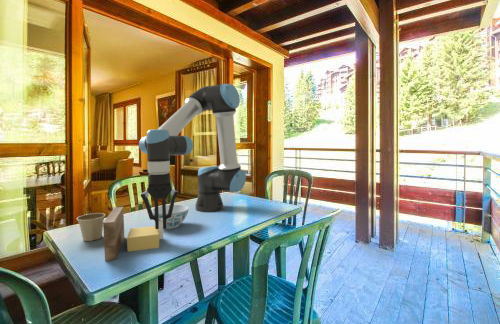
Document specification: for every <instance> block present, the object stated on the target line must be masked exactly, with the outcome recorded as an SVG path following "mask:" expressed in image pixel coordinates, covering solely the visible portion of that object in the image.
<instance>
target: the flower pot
mask: <svg viewBox="0 0 500 324" xmlns="http://www.w3.org/2000/svg"><path fill="white" fill-rule="evenodd" d="M105 217H106V214H105V213H102V212H94V213H86V214H83V215H80V216H78V217H76V220H77V222H78V224H79V227H80V231H81V236H82V240H83V241H84V242H93V241H94V240H97V241H98V240H99V239H101V238H102V237H103V231H104V230H103V222H104V221H105Z"/></svg>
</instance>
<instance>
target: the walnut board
mask: <svg viewBox="0 0 500 324" xmlns="http://www.w3.org/2000/svg"><path fill="white" fill-rule="evenodd" d="M102 231H103V247H104V262H105V261H106V262H108V261H113V260H114V261H115V260H117V258H118V256H119V255H118V254H119V252H120V250H121V247H122V244H123V243H124V240H125V216H124V206H117V207H114V208H113V209H112V210H111V211H110V213H109V214H108V215H107V217H106V218H105V219H104V220H103V230H102Z"/></svg>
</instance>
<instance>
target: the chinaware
mask: <svg viewBox="0 0 500 324" xmlns="http://www.w3.org/2000/svg"><path fill="white" fill-rule="evenodd" d="M169 206H170V204H166V214H168V211H169ZM151 210H152V213H153V215H154V216H155V207H154V208H153V209H151ZM158 213H159V219H163V214H162V205H161V206H158ZM188 213H189V206H187V205H183V204H174V207H173V211H172V215H171V218H168V219H167V220H166V228H165V229H166V230H171V229H172V230H173V229H176V228H179V227H180V225H181V224H182V223H183V222H184V221H185V219H186V217H187V216H188Z"/></svg>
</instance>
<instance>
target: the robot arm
mask: <svg viewBox="0 0 500 324" xmlns="http://www.w3.org/2000/svg"><path fill="white" fill-rule="evenodd" d="M240 98H241V97H240V93H239V92H238V89H237V88H236V87H235V85H233V84H231V83H221V84H214V85H206V86H202V87H200V88H199V89H197V90H195V91H194V92H193V93H192V94H190V95H189V96H188V97H186V99H185V100H184V104H183V105H182V106H181V107H180V108H179V109H178V110H177V111H175V112H174V113H173V114H172V115H171V116H170V117H169V118H168V119H167V120H166V121H164V123H162V125H160V126H159V127H158V128H157V129H148V131H147V132H146V136H143V137H141V138H140V140H139V141H138V147H139V150H140V151H141V153H143V154H145V155H146V157H147V163H146V164H147V173H148V175H147V189H146V191H143V192H140V193H141V194H140V197H141V198H142V200H143V202H144V204H145V205H144V206H145V208H146V212H147V215H148V218H149V220H153V221H154V224H155V225H154V226H155V228H156V229H159V240H161V239H164V229H165V228H166V220H167V219H168V218H171V215H172V211H173V207H174V205H175V201H176V198H177V196H178V195H179V192H178V190H175V189H173V187H172V185H171V173H170V172H171V162H170V161H171V159H170V158H171V157H170V156H185V155H189V154H190V153H191V152H192V151H193V148H194V144H193V140H192V139H191V137H189V136H187V135H179V134H180V133H181V132H182V131H183V129H184V128H185V127H186V126H187V125H189V123H191V121H192V120H193V119H195V117H196V116H199V115H201V114H202V113H203V112H205V111H211V112H212V115H213V116H215V121H216V129H217V130H216V131H217V141H218V148H219V149H218V152H219V160H220V162H219V163H220V164H219V165H214V166H206V167H200V168H199V169H198V171H197V184H198V185H197V186H198V188H197V191H198V194H197V195H198V196H197V199H196V202H195V211H198V212H205V213H207V212H208V213H210V212H211V213H212V212H218V211H221V210H223V209H224V202H223V199H222V196H221V192H230V193H239V192H241V191H242V189H243V188H244V187H245V184H246V182H247V181H246V179H247V173H246V172H245V170H243V169H241V164H240V163H239V162H238V157H237V143H236V132H235V130H236V129H235V121H234V115H235V114H236V112H237V108H239V106H240V102H241V99H240ZM170 193H171V194H170ZM149 195H150V197H152V198H153V201H154V208H155V216H154V215H153V212H152V210H153V209H152V207H151V202H150V200H149ZM169 195H171V198H170V202H169V205H170V206H169V211H168V214H166V205H167V204H166V200H167V197H168V196H169ZM160 199H161V206H162V214H163V219H159V213H158V207H159V200H160Z"/></svg>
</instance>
